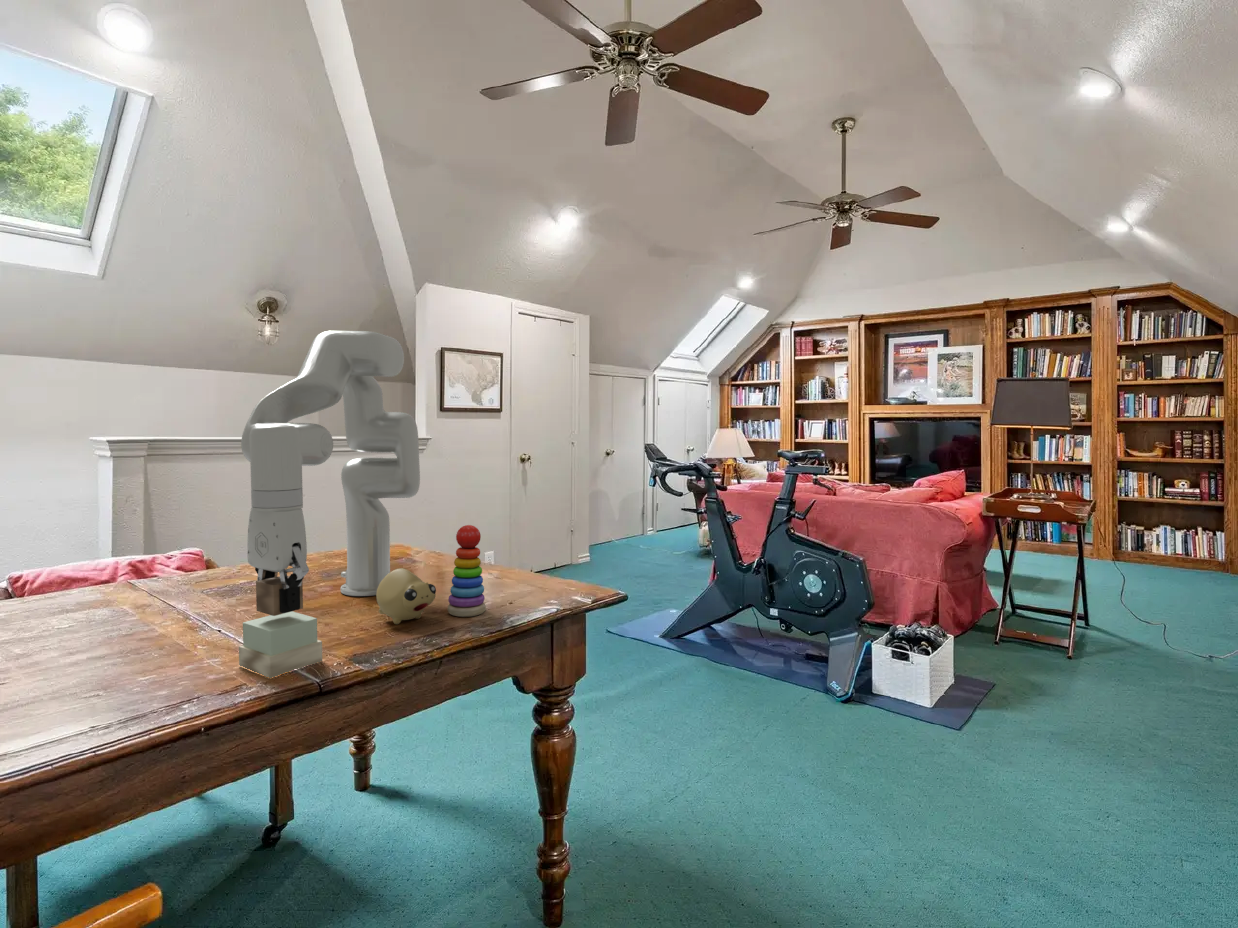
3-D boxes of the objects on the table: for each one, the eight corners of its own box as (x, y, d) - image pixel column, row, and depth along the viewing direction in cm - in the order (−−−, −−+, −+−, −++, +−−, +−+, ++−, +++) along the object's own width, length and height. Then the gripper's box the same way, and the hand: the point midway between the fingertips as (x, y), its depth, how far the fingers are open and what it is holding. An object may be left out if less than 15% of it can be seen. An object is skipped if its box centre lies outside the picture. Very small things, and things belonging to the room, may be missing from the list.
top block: (243, 646, 107) (242, 622, 107) (289, 632, 114) (289, 610, 114) (271, 656, 103) (270, 631, 103) (317, 641, 110) (316, 618, 109)
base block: (239, 669, 107) (238, 646, 107) (291, 653, 115) (290, 631, 115) (270, 682, 103) (269, 657, 102) (322, 664, 110) (322, 641, 110)
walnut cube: (256, 610, 107) (255, 581, 107) (285, 603, 112) (284, 575, 111) (274, 615, 105) (273, 585, 104) (303, 608, 109) (302, 579, 109)
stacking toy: (476, 619, 134) (476, 529, 133) (440, 616, 136) (440, 527, 134) (491, 608, 142) (491, 523, 140) (457, 605, 143) (457, 521, 142)
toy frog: (404, 633, 125) (404, 578, 124) (367, 621, 132) (366, 569, 131) (445, 620, 133) (444, 569, 132) (407, 609, 140) (407, 561, 139)
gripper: (226, 498, 108) (229, 605, 110) (285, 506, 99) (288, 623, 101) (270, 493, 115) (272, 595, 116) (330, 501, 106) (332, 611, 107)
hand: (280, 607), depth 108 cm, fingers closed on walnut cube, 5 cm apart
